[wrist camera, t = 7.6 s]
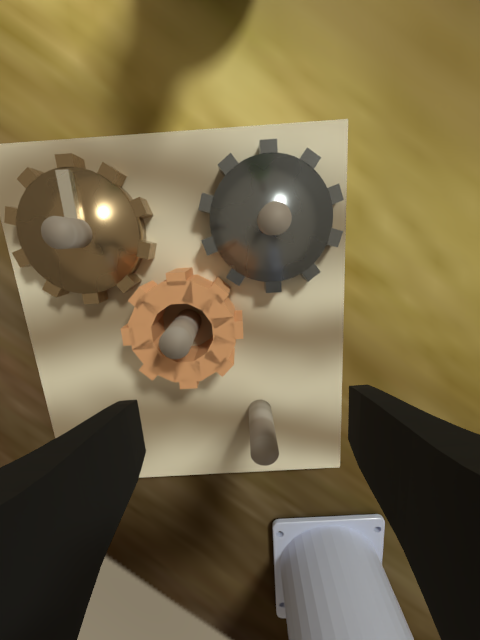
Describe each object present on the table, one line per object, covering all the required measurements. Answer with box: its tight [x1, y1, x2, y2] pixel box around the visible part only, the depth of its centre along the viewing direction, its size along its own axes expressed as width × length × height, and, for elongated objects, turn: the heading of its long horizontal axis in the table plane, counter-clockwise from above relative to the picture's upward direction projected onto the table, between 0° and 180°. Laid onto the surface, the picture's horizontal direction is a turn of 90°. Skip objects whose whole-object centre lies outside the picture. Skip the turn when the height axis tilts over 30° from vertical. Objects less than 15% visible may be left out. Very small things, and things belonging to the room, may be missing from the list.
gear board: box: [0, 119, 348, 478], centre depth 16 cm, size 20×18×5 cm
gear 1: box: [4, 153, 157, 304], centre depth 16 cm, size 7×7×2 cm
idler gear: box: [121, 267, 243, 389], centre depth 16 cm, size 6×6×2 cm
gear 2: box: [198, 139, 344, 293], centre depth 16 cm, size 7×7×1 cm
